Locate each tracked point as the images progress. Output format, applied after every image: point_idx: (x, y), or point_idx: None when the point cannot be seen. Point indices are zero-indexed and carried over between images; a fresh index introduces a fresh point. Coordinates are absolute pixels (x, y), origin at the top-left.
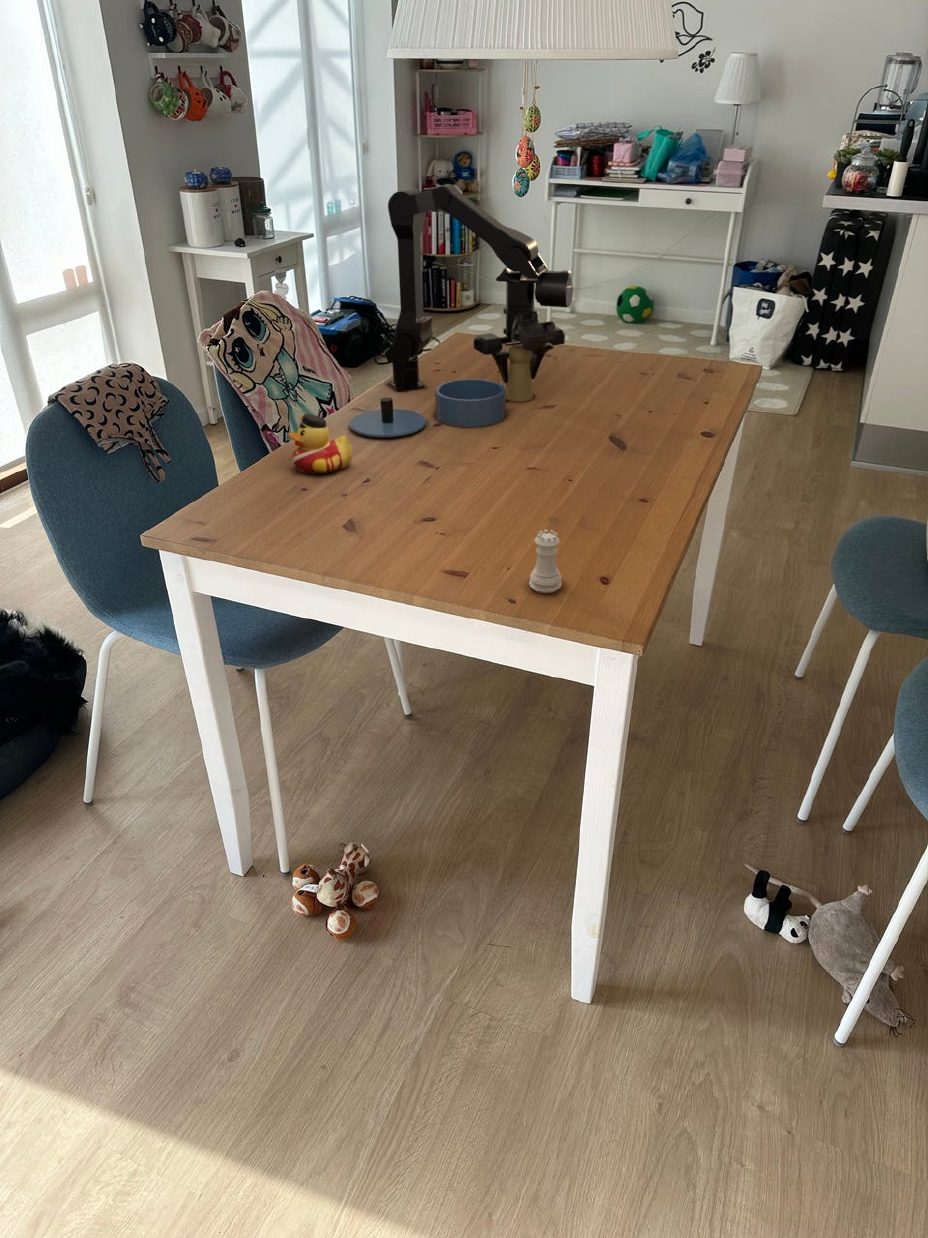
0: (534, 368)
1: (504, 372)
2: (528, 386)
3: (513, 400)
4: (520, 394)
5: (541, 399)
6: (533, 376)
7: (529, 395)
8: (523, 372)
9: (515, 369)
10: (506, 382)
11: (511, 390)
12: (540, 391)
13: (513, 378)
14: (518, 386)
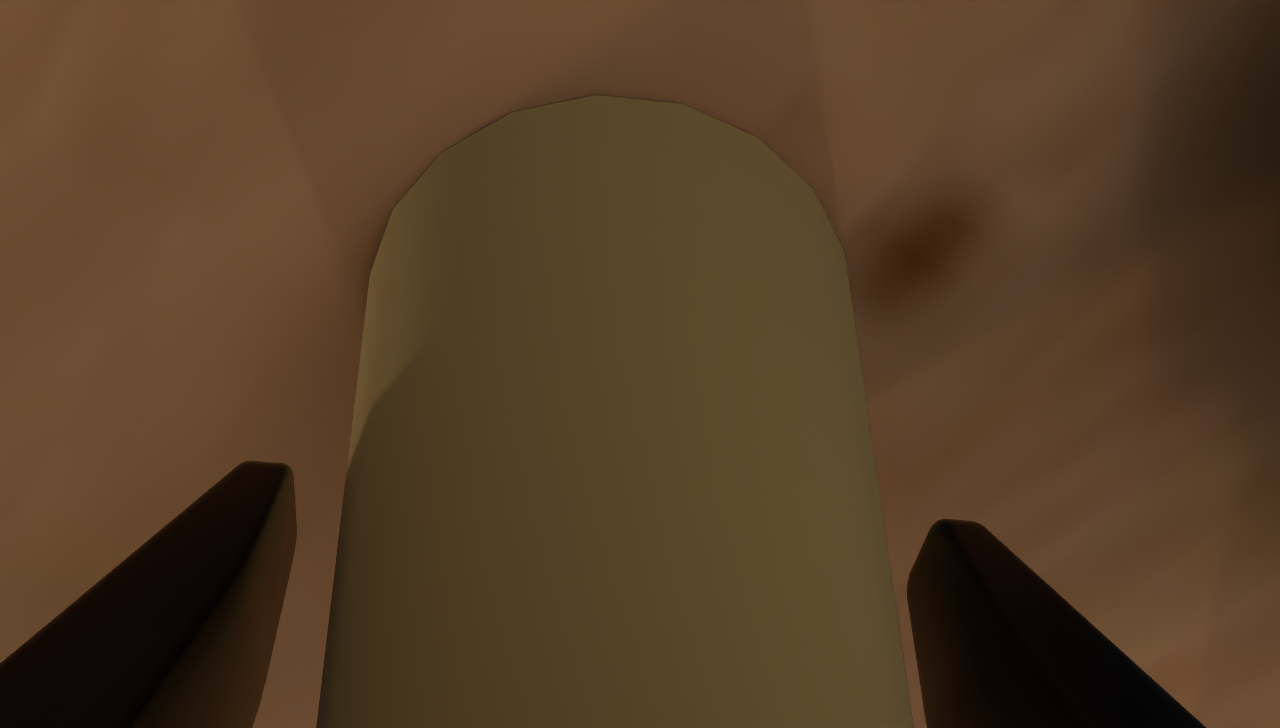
0: (188, 648)
1: (1176, 713)
2: (536, 264)
3: (821, 215)
4: (741, 198)
5: (295, 9)
6: (269, 494)
7: (528, 150)
8: (695, 545)
9: (901, 715)
10: (969, 524)
11: (858, 361)
12: (124, 370)
13: (877, 530)
14: (791, 322)
